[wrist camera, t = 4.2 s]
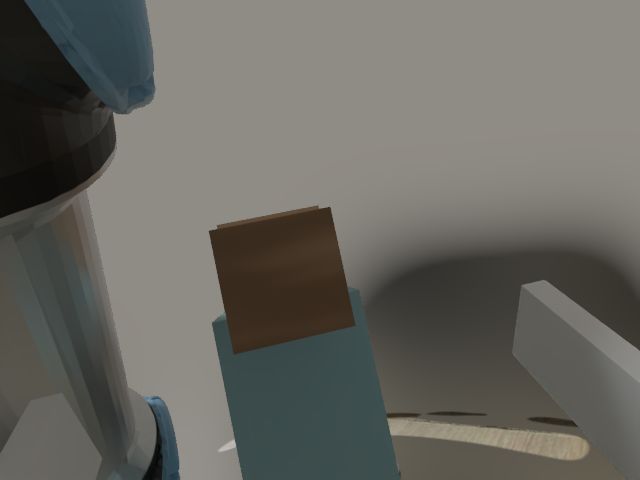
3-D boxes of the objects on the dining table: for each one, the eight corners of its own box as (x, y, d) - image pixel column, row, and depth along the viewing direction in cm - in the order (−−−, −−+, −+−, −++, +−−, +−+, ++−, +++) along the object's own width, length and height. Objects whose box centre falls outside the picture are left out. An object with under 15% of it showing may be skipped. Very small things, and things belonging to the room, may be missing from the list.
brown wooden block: (243, 303, 33) (229, 234, 33) (324, 285, 34) (309, 217, 34) (185, 366, 12) (149, 178, 12) (399, 315, 13) (360, 140, 13)
